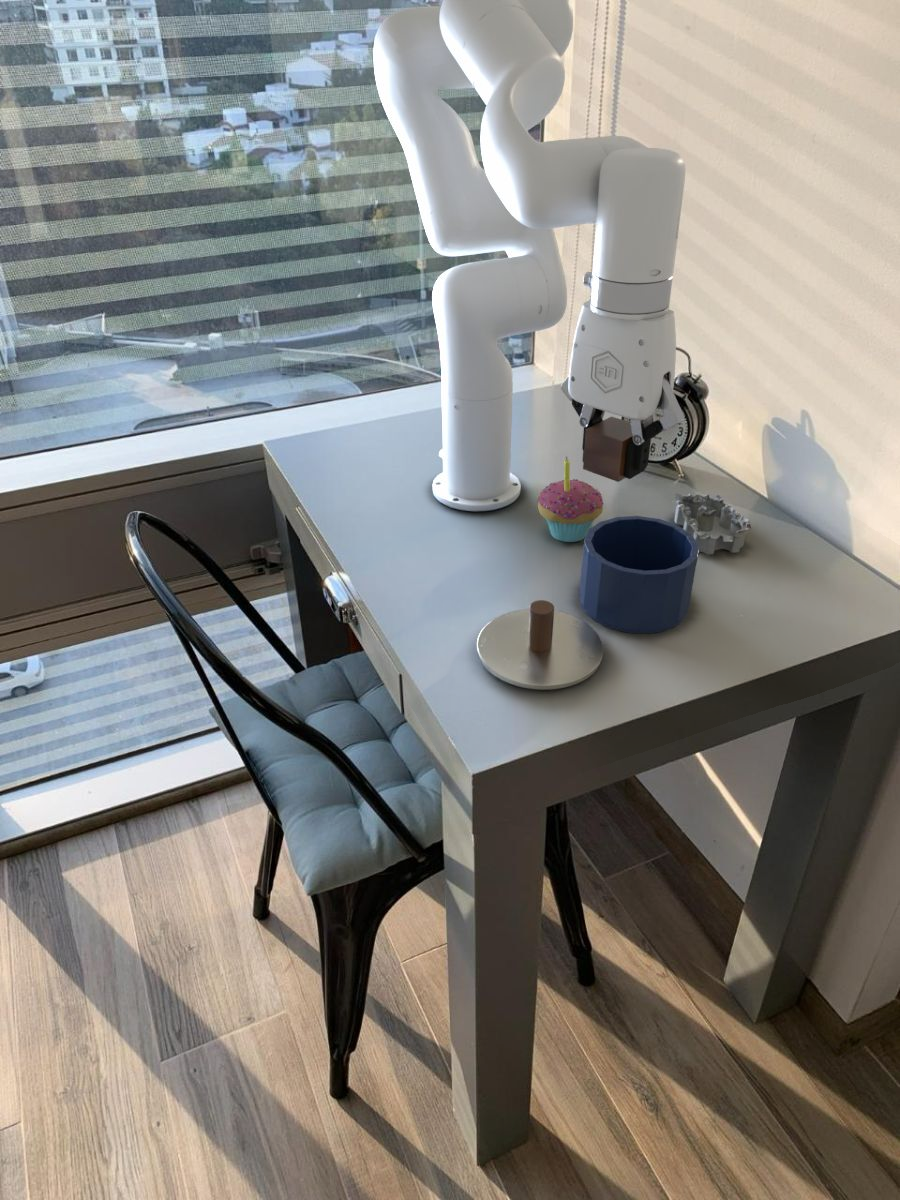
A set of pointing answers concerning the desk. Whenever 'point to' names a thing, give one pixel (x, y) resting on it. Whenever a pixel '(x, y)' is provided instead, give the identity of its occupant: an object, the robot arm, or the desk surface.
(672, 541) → the blue bowl
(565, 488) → the cupcake
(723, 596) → the desk surface
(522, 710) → the desk surface
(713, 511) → the egg carton
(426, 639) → the desk surface
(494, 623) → the lid
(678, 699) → the desk surface
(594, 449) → the block
